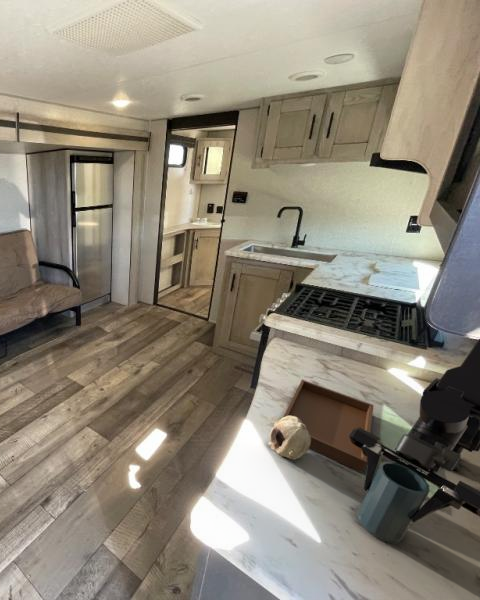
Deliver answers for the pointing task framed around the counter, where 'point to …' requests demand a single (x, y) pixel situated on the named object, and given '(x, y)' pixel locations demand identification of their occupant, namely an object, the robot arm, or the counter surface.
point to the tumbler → (392, 501)
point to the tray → (332, 422)
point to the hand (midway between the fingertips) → (387, 504)
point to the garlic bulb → (290, 437)
